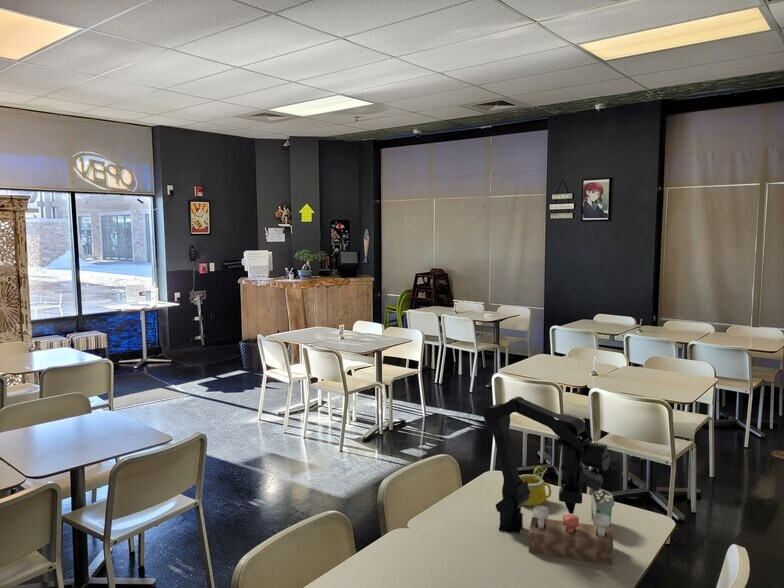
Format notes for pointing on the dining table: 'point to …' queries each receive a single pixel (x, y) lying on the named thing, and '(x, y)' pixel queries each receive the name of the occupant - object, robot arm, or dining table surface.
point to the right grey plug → (601, 523)
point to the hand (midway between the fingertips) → (571, 513)
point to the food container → (601, 503)
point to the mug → (536, 488)
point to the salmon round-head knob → (570, 522)
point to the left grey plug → (541, 515)
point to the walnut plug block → (571, 541)
